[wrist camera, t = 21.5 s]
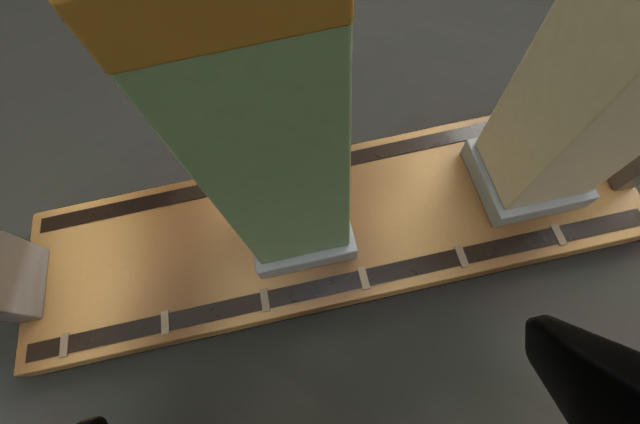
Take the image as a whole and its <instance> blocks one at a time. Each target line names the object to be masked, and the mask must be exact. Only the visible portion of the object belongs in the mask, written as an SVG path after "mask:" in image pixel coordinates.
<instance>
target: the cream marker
mask: <svg viewBox="0 0 640 424" xmlns="http://www.w3.org/2000/svg"><path fill="white" fill-rule="evenodd" d="M460 153H461V155H462V158H463V160H464V162H465V165H466V167H467V169H468V171H469V174H470V176H471V178H472V181H473V183H474V185H475V188H476V190H477V192H478V195H479V197H480V199H481V202H482V204H483V206H484V208H485V211H486V213H487V215H488V218H489V220H490V222H491V225H492V227H493V228H495V227H500V226H504V225H509V224H513V223H518V222H522V221H527V220H531V219H536V218H540V217H545V216H549V215H554V214H558V213H563V212H567V211H572V210H576V209H581V208H585V207H587V206H588V205H590V204H591V203H593V202H594V201H596V200H597V199H599V198H600V195H599V194H598V192H597V190H596V187H598V186H599V185H600V184H602V183H603V182H604V181H606V180H607V179H608V178H610V177H611V176H612V175H614V174H615V173H617V172H618V171H619V170H621V169H622V168H623V167H625V166H626V165H627V164H629V163H630V162H631V161H633V160H634V159H635V158H637V157H638V156H640V0H555V1H554V3H553V5H552V7H551V8H550V10H549V12H548V14H547V16H546V17H545V19H544V21H543V23H542V25H541V26H540V28H539V30H538V32H537V34H536V35H535V37H534V39H533V41H532V42H531V44H530V46H529V48H528V50H527V51H526V53H525V55H524V57H523V59H522V60H521V62H520V64H519V66H518V68H517V69H516V71H515V73H514V75H513V76H512V78H511V80H510V82H509V84H508V85H507V87H506V89H505V91H504V93H503V94H502V96H501V98H500V100H499V102H498V103H497V105H496V107H495V109H494V110H493V112H492V114H491V116H490V118H489V119H488V121H487V123H486V125H485V127H484V128H483V130H482V132H481V134H480V136H479V137H477V138H472V139H468V140H466V141H465V143H464V145H463V147H462V149H461V151H460Z"/></svg>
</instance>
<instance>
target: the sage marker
mask: <svg viewBox="0 0 640 424" xmlns="http://www.w3.org/2000/svg"><path fill="white" fill-rule="evenodd" d="M49 3H50V5H51V6H52V7H53V9H54V10H55V11H56V12H57V14H58V15H59V16H60V17H61V18H62V20H63V21H64V22H65V23H66V25H67V26H68V27H69V28H70V30H71V31H72V32H73V33H74V34H75V36H76V37H77V38H78V39H79V41H80V42H81V43H82V44H83V46H84V47H85V48H86V49H87V50H88V52H89V53H90V54H91V55H92V57H93V58H94V59H95V60H96V62H97V63H98V64H99V65H100V66H101V68H102V69H103V70H104V71H105V73H107V74H108V75H109V76H110V77H111V78H112V79H113V81H114V82H115V83H116V84H117V85H118V87H119V88H120V89H121V90H122V92H123V93H124V94H125V95H126V97H127V98H128V99H129V100H130V102H131V103H132V104H133V105H134V107H135V108H136V109H137V110H138V111H139V113H140V114H141V115H142V116H143V118H144V119H145V120H146V121H147V123H148V124H149V125H150V126H151V128H152V129H153V130H154V131H155V133H156V134H157V135H158V136H159V138H160V139H161V140H162V141H163V142H164V144H165V145H166V146H167V147H168V149H169V150H170V151H171V152H172V154H173V155H174V156H175V157H176V159H177V160H178V161H179V162H180V164H181V165H182V166H183V167H184V168H185V170H186V171H187V172H188V173H189V175H190V176H191V177H192V178H193V180H194V181H195V182H196V183H197V185H198V186H199V187H200V188H201V190H202V191H203V192H204V193H205V194H206V196H207V197H208V198H209V199H210V201H211V202H212V203H213V204H214V206H215V207H216V208H217V209H218V211H219V212H220V213H221V214H222V216H223V217H224V218H225V219H226V221H227V222H228V223H229V224H230V225H231V227H232V228H233V229H234V230H235V232H236V233H237V234H238V235H239V237H240V238H241V239H242V240H243V242H244V243H245V244H246V245H247V247H248V248H249V249H250V250H251V251H252V253H253V254H254V261H255V268H256V273H257V274H258V275H259V276H260V278H261V279H265V278H270V277H274V276H279V275H283V274H288V273H292V272H297V271H301V270H306V269H310V268H315V267H319V266H324V265H328V264H333V263H337V262H342V261H346V260H351V259H355V258H357V253H358V249H357V245H356V241H355V237H354V234H353V230H352V226H351V222H350V170H351V91H352V21H353V13H354V0H49Z"/></svg>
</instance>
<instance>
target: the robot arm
mask: <svg viewBox="0 0 640 424" xmlns="http://www.w3.org/2000/svg"><path fill="white" fill-rule="evenodd" d="M525 350H526V354H527V357H528V359H529V361H530V363H531V365H532V366H533V368H534V369H535V371H536V373H537V374H538V376H539V377H540V379H541V381H542V382H543V384H544V385H545V387H546V389H547V390H548V392H549V393H550V395H551V397H552V398H553V400H554V402H555V403H556V405H557V406H558V408H559V410H560V411H561V413H562V414H563V416H564V418H565V419H566V421H567V422H568V424H640V352H639V351H636V350H634V349H631V348H629V347H626V346H624V345H621V344H619V343H616V342H614V341H611V340H609V339H606V338H604V337H601V336H599V335H597V334H594V333H592V332H589V331H587V330H584V329H582V328H579V327H577V326H574V325H572V324H569V323H567V322H564V321H562V320H559V319H557V318H554V317H552V316H549V315H542V316H537V317H533V318H529V319H528V320H527V321H526V325H525ZM77 424H108V423H107V421H106V419H105V418H103V417H101V416H97V417H93V418H88V419H84V420H81V421H79V422H78V423H77Z"/></svg>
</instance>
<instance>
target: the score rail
mask: <svg viewBox="0 0 640 424" xmlns="http://www.w3.org/2000/svg"><path fill="white" fill-rule="evenodd" d="M490 116H491V115H488V116H484V117H479V118H475V119H470V120H465V121H461V122H456V123H451V124H447V125H442V126H438V127H433V128H428V129H424V130H419V131H415V132H410V133H405V134H401V135H396V136H391V137H387V138H382V139H378V140H373V141H368V142H364V143H359V144H354V145H351V170H350V222H351V226H352V230H353V234H354V237H355V241H356V245H357V249H358V253H357V258H355V259H351V260H346V261H342V262H337V263H333V264H328V265H324V266H319V267H315V268H310V269H306V270H301V271H297V272H292V273H288V274H283V275H279V276H274V277H270V278H265V279H261V278H260V276H259V275H258V274H257V273H256V268H255V261H254V254H253V253H252V251H251V250H250V249H249V248H248V247H247V245H246V244H245V243H244V242H243V240H242V239H241V238H240V237H239V235H238V234H237V233H236V232H235V230H234V229H233V228H232V227H231V225H230V224H229V223H228V222H227V221H226V219H225V218H224V217H223V216H222V214H221V213H220V212H219V211H218V209H217V208H216V207H215V206H214V204H213V203H212V202H211V201H210V199H209V198H208V197H207V196H206V194H205V193H204V192H203V191H202V190H201V188H200V187H199V186H198V185H197V183H196V182H195V181H194V180H188V181H183V182H179V183H174V184H170V185H165V186H160V187H156V188H151V189H147V190H142V191H137V192H133V193H128V194H123V195H119V196H114V197H110V198H105V199H100V200H96V201H91V202H86V203H82V204H77V205H73V206H68V207H63V208H59V209H54V210H50V211H45V212H40V213H36V214H34V215H33V221H32V229H31V237H30V242H29V241H27V240H24V239H22V238H19V237H17V236H14V235H12V234H9V233H7V232H4V231H2V230H0V321H5V322H12V323H20V326H19V334H18V342H17V350H16V358H15V366H14V374H13V375H14V376H15V377H27V376H37V375H42V374H46V373H50V372H55V371H59V370H64V369H68V368H73V367H77V366H82V365H86V364H90V363H95V362H99V361H104V360H108V359H113V358H117V357H122V356H126V355H131V354H135V353H139V352H144V351H148V350H153V349H157V348H162V347H166V346H171V345H175V344H179V343H184V342H188V341H193V340H197V339H202V338H206V337H211V336H215V335H220V334H224V333H228V332H233V331H237V330H242V329H246V328H251V327H255V326H260V325H264V324H268V323H273V322H277V321H282V320H286V319H291V318H295V317H300V316H304V315H309V314H313V313H317V312H322V311H326V310H331V309H335V308H340V307H344V306H349V305H353V304H357V303H362V302H366V301H371V300H375V299H380V298H384V297H389V296H393V295H398V294H402V293H406V292H411V291H415V290H420V289H424V288H429V287H433V286H438V285H442V284H446V283H451V282H455V281H460V280H464V279H469V278H473V277H478V276H482V275H487V274H491V273H495V272H500V271H504V270H509V269H513V268H518V267H522V266H527V265H531V264H535V263H540V262H544V261H549V260H553V259H558V258H562V257H567V256H571V255H576V254H580V253H584V252H589V251H593V250H598V249H602V248H607V247H611V246H616V245H620V244H624V243H629V242H633V241H638V240H640V194H639V192H638V191H637V189H636V188H635V187H636V186H637V185H639V184H640V156H638V157H637V158H635V159H634V160H633V161H631V162H630V163H629V164H627V165H626V166H625V167H623V168H622V169H621V170H619V171H618V172H617V173H615V174H614V175H612V176H611V177H610V178H608V179H607V180H606V181H604V182H603V183H602V184H600V185H599V186H598V187H596V190H597V192H598V194H599V195H600V198H599V199H597V200H596V201H594V202H593V203H591V204H590V205H588V206H587V207H585V208H581V209H576V210H572V211H567V212H563V213H558V214H554V215H549V216H545V217H540V218H536V219H531V220H527V221H522V222H518V223H513V224H509V225H504V226H500V227H495V228H493V227H492V225H491V222H490V220H489V218H488V215H487V213H486V211H485V208H484V206H483V204H482V202H481V199H480V197H479V195H478V192H477V190H476V188H475V185H474V183H473V181H472V178H471V176H470V174H469V171H468V169H467V167H466V165H465V162H464V160H463V158H462V155H461V153H460V151H461V149H462V147H463V145H464V143H465V141H466V140H468V139H472V138H477V137H479V136H480V134H481V132H482V130H483V128H484V127H485V125H486V123H487V121H488V119H489V118H490Z"/></svg>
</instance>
